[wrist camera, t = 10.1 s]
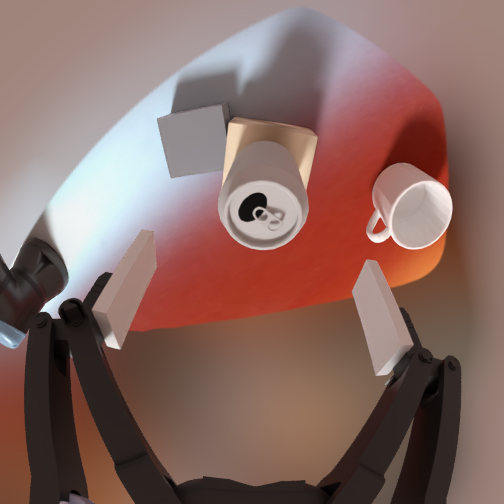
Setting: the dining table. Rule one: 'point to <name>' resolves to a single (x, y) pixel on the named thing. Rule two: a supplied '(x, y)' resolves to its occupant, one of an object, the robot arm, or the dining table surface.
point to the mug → (409, 207)
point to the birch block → (289, 136)
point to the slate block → (195, 139)
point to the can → (263, 197)
